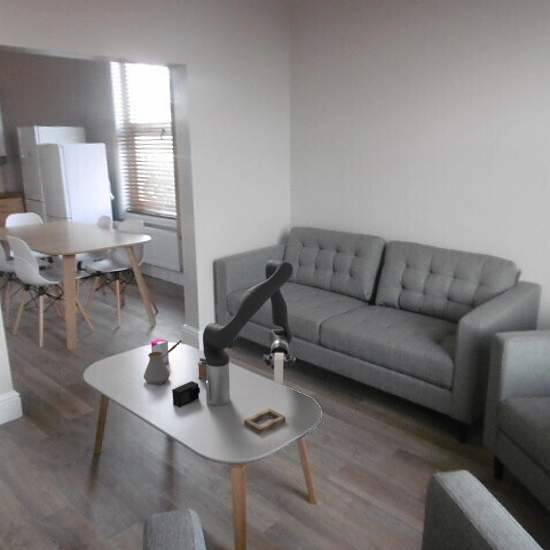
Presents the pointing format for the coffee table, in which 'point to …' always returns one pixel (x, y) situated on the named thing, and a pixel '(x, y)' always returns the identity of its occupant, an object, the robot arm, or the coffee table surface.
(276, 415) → the frame
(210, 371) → the robot arm
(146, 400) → the coffee table surface
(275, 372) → the key block
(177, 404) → the digital camera
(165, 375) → the coffee pot
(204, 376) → the lighter
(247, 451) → the coffee table surface
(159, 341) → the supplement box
